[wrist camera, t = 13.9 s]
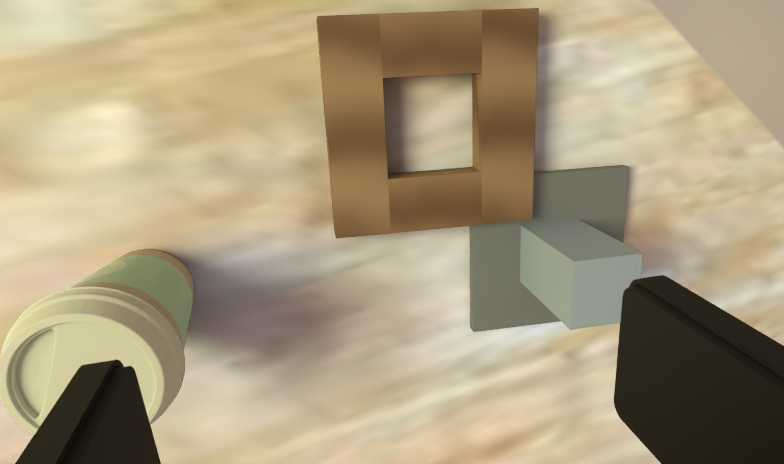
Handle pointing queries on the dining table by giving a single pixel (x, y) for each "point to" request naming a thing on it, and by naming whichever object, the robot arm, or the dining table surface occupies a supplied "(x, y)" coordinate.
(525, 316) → the coaster
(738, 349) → the robot arm
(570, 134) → the dining table surface
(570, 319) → the slate block
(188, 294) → the coffee cup
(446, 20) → the board
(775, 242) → the dining table surface
